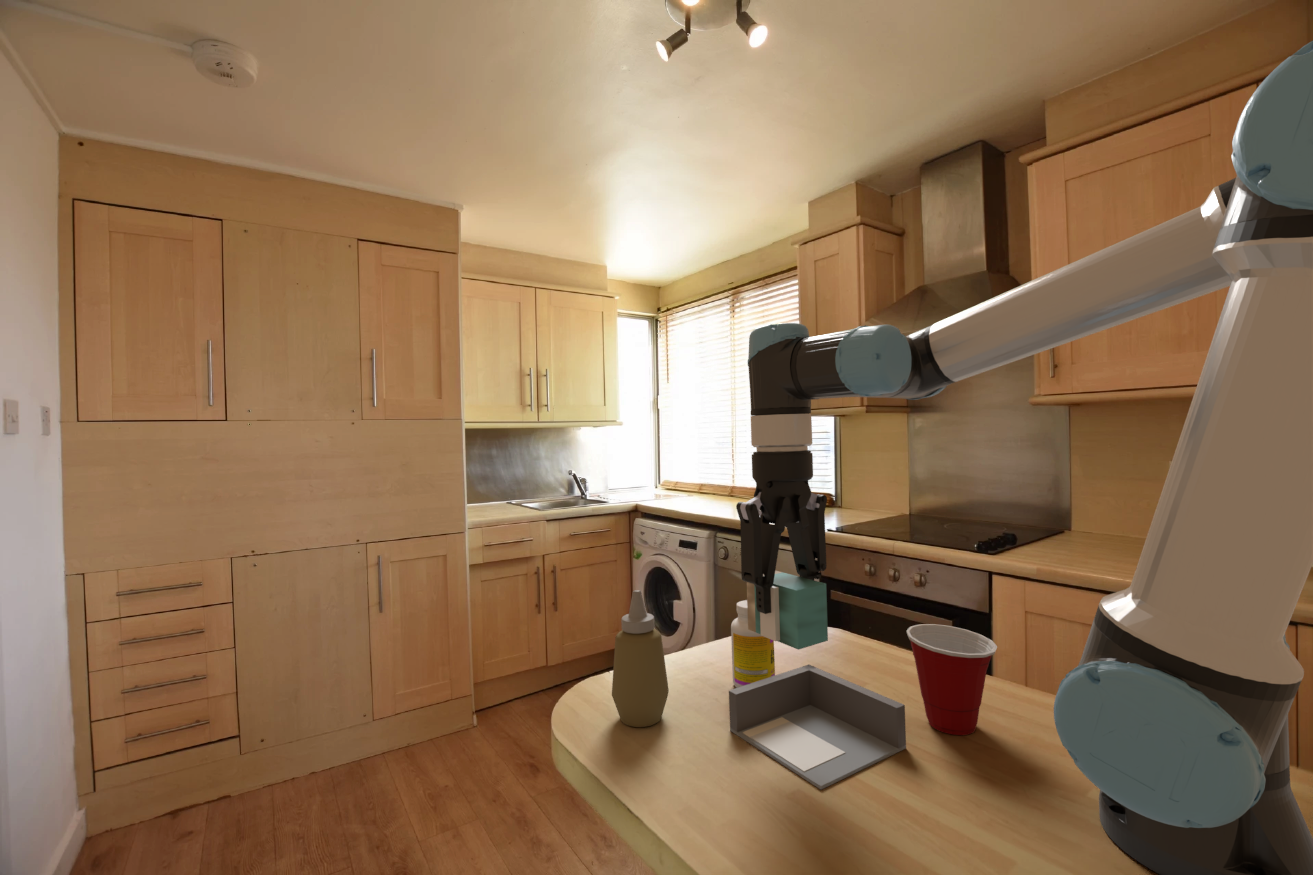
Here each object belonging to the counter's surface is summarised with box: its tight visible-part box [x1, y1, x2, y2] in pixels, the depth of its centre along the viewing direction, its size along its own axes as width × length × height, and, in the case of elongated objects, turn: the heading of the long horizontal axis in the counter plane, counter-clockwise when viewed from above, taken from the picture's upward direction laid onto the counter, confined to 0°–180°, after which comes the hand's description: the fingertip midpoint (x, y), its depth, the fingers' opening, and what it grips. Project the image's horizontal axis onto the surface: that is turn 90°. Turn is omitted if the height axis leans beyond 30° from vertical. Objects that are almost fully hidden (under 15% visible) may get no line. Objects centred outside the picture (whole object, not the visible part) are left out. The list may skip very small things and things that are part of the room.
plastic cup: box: [906, 623, 998, 736], centre depth 78 cm, size 11×11×12 cm
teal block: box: [746, 569, 829, 650], centre depth 75 cm, size 9×5×7 cm, turn 32°
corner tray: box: [728, 664, 907, 790], centre depth 76 cm, size 16×15×5 cm
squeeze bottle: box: [611, 589, 669, 728], centre depth 83 cm, size 8×8×18 cm
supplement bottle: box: [730, 599, 776, 688], centre depth 93 cm, size 7×7×13 cm
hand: (787, 632), depth 75 cm, fingers closed on teal block, 5 cm apart
